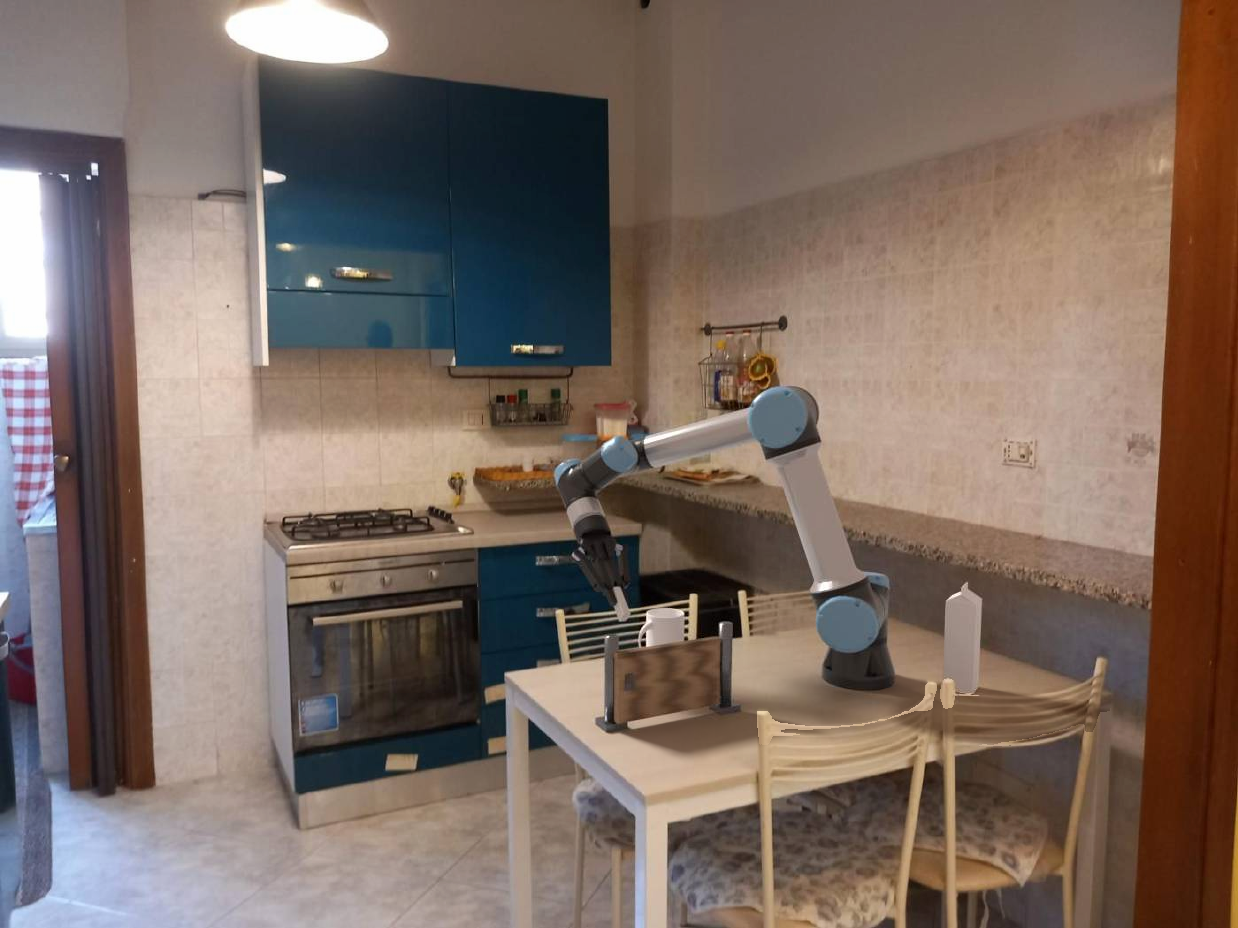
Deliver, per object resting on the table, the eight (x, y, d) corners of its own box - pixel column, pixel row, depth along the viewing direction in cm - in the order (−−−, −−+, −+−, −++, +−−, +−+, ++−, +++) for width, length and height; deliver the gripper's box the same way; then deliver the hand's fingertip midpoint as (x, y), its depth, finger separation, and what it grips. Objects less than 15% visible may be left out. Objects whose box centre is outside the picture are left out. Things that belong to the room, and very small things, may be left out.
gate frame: (720, 699, 186) (722, 616, 185) (740, 710, 180) (741, 624, 179) (595, 723, 173) (595, 634, 172) (612, 736, 167) (612, 643, 166)
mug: (626, 660, 212) (626, 613, 211) (667, 650, 219) (667, 606, 218) (650, 669, 205) (650, 622, 204) (691, 660, 212) (692, 613, 211)
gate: (715, 701, 181) (716, 636, 180) (720, 704, 179) (721, 638, 178) (612, 721, 171) (613, 651, 169) (617, 724, 169) (617, 654, 168)
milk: (978, 687, 194) (983, 583, 192) (972, 696, 189) (977, 589, 187) (948, 682, 198) (953, 579, 195) (941, 690, 192) (946, 585, 190)
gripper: (610, 531, 207) (646, 623, 194) (556, 535, 201) (590, 631, 187) (621, 510, 201) (659, 604, 188) (566, 514, 195) (602, 611, 182)
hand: (625, 617), depth 188 cm, fingers closed
